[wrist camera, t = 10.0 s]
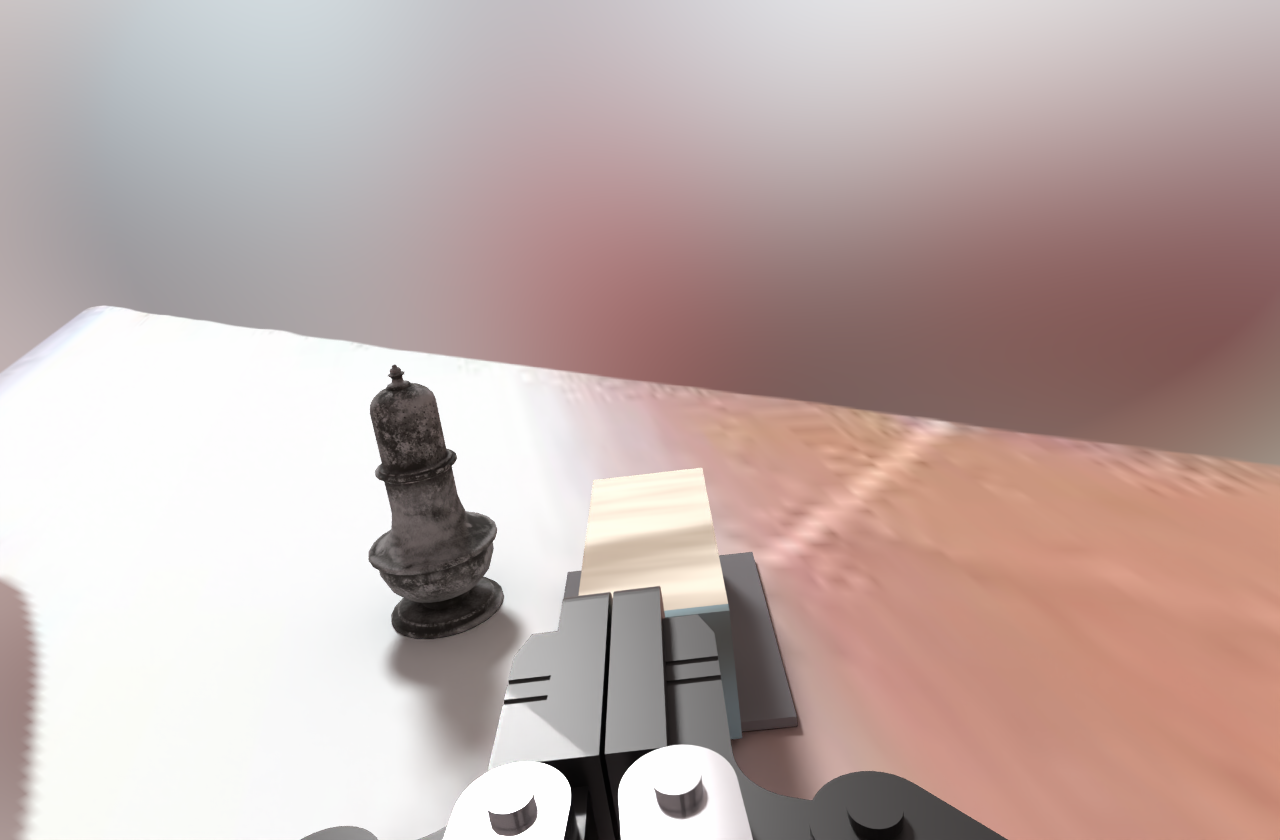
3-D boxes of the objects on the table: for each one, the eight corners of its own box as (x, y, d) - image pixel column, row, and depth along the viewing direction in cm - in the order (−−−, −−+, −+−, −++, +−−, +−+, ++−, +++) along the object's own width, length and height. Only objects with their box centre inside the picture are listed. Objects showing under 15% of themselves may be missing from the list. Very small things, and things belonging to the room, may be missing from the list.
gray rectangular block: (797, 726, 29) (796, 716, 29) (542, 751, 29) (540, 742, 29) (752, 559, 40) (752, 551, 40) (569, 579, 41) (567, 572, 41)
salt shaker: (359, 623, 39) (294, 380, 35) (452, 565, 44) (403, 344, 40) (443, 655, 36) (382, 390, 32) (534, 589, 40) (490, 349, 36)
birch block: (729, 610, 27) (701, 467, 38) (574, 627, 27) (593, 480, 38) (742, 737, 28) (712, 564, 39) (595, 753, 28) (608, 576, 40)
